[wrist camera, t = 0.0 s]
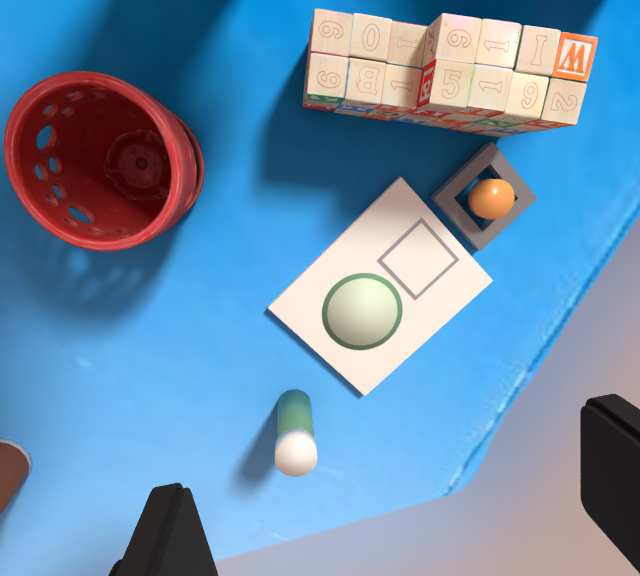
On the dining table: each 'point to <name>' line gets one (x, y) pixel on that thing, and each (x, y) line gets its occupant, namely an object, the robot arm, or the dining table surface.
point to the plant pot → (102, 160)
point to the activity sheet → (381, 288)
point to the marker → (295, 434)
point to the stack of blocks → (447, 72)
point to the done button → (491, 198)
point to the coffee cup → (12, 469)
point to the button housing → (466, 174)
